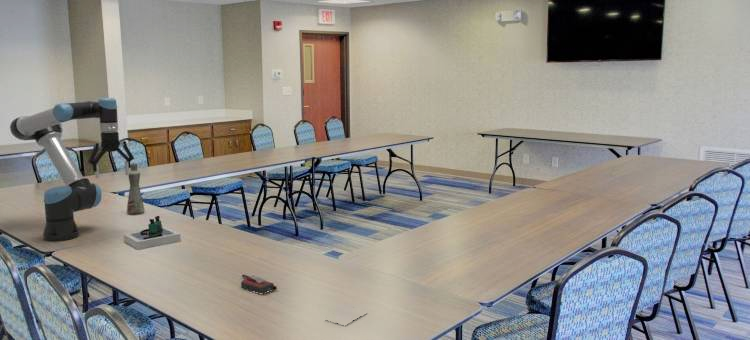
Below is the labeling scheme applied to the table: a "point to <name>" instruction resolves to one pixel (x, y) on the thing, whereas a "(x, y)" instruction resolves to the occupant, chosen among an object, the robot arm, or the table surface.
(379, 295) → the table surface
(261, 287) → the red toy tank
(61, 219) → the robot arm
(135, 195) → the bottle
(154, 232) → the binoculars
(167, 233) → the case
